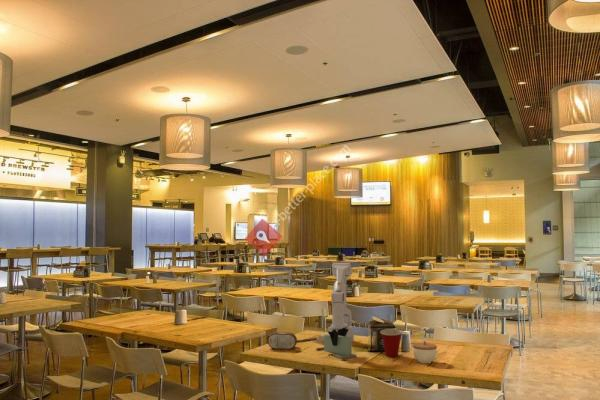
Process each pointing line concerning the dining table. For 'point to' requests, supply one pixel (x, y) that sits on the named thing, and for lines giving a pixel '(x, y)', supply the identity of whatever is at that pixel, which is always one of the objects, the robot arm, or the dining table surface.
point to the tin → (282, 340)
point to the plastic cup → (391, 341)
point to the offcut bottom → (319, 340)
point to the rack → (313, 341)
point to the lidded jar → (424, 352)
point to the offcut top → (321, 336)
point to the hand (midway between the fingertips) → (338, 344)
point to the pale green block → (338, 345)
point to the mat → (342, 356)
